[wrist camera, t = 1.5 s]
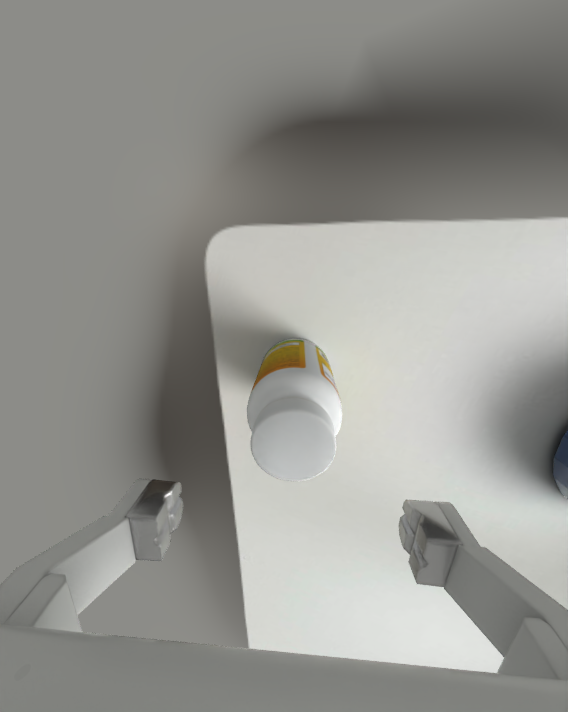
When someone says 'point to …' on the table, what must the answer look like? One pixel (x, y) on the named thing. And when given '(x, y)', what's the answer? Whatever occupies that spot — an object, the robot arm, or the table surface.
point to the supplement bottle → (294, 412)
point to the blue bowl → (562, 466)
